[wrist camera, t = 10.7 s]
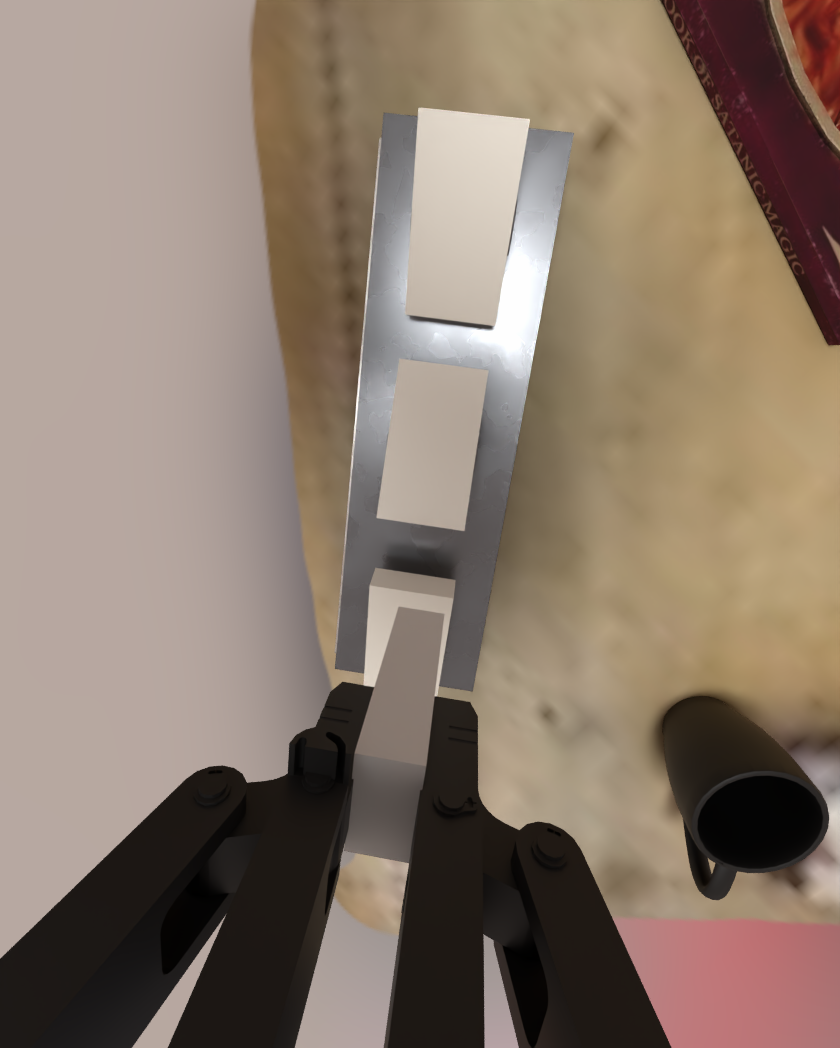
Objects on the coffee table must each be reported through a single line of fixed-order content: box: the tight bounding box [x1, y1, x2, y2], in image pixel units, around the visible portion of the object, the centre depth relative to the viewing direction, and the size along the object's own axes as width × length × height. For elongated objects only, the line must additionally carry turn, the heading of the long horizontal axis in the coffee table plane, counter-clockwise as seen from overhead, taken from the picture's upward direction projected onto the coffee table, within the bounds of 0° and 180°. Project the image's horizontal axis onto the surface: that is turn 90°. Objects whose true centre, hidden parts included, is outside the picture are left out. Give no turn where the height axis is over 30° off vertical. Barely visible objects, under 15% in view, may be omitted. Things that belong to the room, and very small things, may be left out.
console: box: [335, 113, 574, 691], centre depth 35 cm, size 34×10×5 cm, turn 173°
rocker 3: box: [364, 568, 456, 697], centre depth 35 cm, size 9×5×3 cm, turn 173°
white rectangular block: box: [376, 359, 488, 531], centre depth 31 cm, size 9×5×3 cm, turn 172°
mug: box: [663, 696, 829, 900], centre depth 38 cm, size 8×12×10 cm
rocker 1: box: [405, 107, 530, 326], centre depth 27 cm, size 9×5×3 cm, turn 174°
